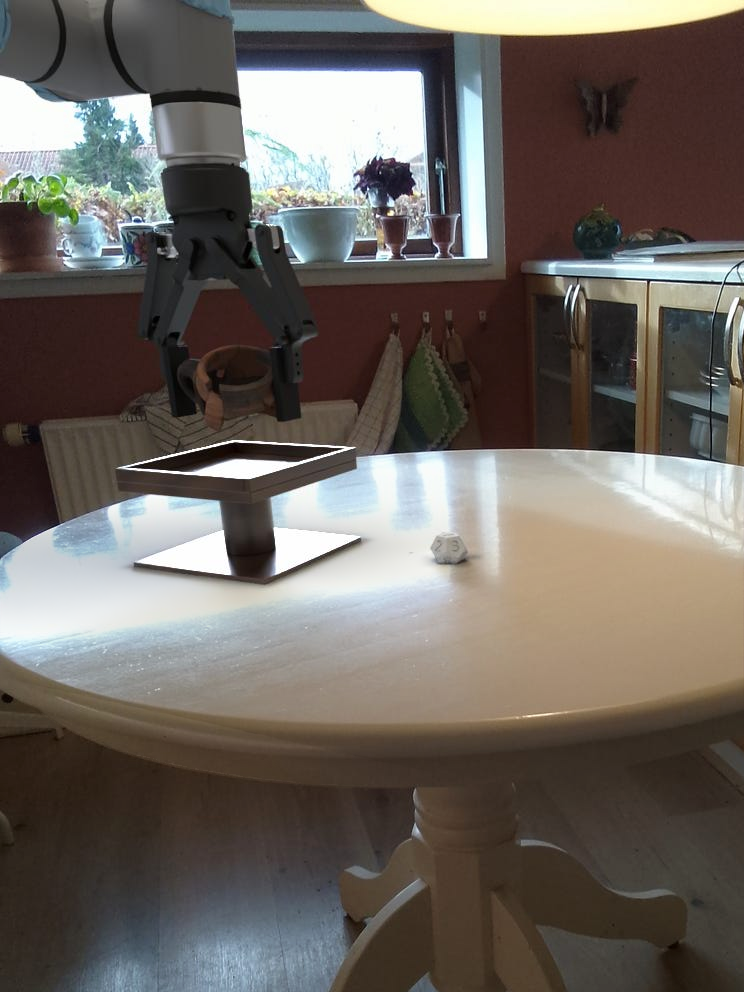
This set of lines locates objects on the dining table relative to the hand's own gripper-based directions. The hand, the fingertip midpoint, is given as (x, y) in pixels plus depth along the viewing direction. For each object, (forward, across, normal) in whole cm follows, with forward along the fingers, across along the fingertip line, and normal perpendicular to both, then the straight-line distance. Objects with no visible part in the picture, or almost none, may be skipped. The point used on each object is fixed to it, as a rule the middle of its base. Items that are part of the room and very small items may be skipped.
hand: (235, 418), depth 88 cm
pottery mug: (+1, 0, 0) cm, 1 cm away
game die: (+14, -20, -5) cm, 25 cm away
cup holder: (+14, 0, 0) cm, 14 cm away
